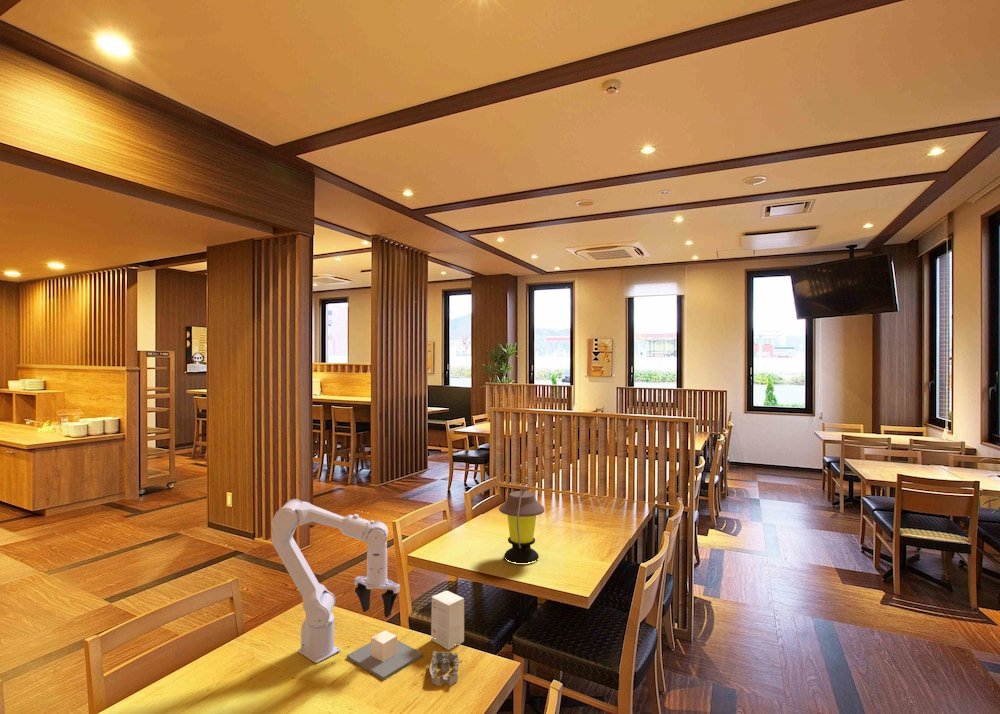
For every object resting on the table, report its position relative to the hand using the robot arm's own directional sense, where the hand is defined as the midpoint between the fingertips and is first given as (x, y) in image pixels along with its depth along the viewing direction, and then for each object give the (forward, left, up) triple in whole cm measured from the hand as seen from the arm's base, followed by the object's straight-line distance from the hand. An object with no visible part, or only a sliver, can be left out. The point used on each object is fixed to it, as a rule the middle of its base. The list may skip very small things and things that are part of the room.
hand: (376, 613), depth 148 cm
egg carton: (+23, +4, -11) cm, 26 cm away
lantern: (-7, +82, -11) cm, 83 cm away
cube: (+5, -1, -10) cm, 11 cm away
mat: (+5, -1, -10) cm, 12 cm away
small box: (+13, +16, -11) cm, 23 cm away
